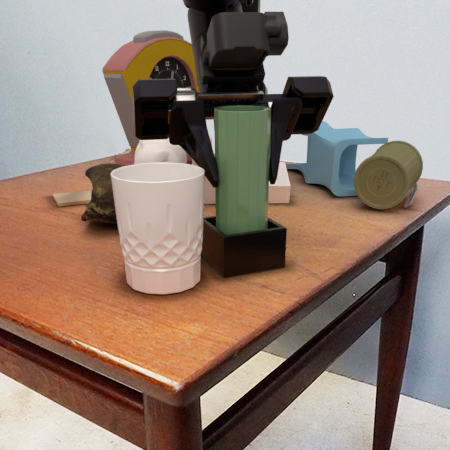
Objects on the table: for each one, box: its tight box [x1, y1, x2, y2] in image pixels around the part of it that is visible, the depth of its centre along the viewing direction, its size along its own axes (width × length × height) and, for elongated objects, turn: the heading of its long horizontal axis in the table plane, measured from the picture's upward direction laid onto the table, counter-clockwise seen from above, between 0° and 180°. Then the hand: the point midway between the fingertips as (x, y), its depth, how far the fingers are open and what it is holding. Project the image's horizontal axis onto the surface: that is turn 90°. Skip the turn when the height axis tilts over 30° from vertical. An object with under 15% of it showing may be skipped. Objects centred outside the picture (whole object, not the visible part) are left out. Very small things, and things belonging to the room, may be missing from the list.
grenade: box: [354, 140, 424, 210], centre depth 74 cm, size 8×7×15 cm
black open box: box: [201, 215, 288, 278], centre depth 53 cm, size 6×6×4 cm
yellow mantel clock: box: [101, 30, 199, 166], centre depth 95 cm, size 22×9×22 cm, turn 141°
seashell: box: [80, 163, 123, 225], centre depth 67 cm, size 16×9×7 cm, turn 3°
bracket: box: [191, 135, 292, 205], centre depth 75 cm, size 13×7×8 cm, turn 91°
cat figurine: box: [134, 138, 188, 164], centre depth 80 cm, size 9×11×12 cm
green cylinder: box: [213, 105, 271, 235], centre depth 51 cm, size 5×5×13 cm
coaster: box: [52, 189, 92, 208], centre depth 76 cm, size 6×6×1 cm
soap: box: [114, 148, 131, 157], centre depth 107 cm, size 10×4×1 cm, turn 171°
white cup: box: [110, 162, 205, 295], centre depth 48 cm, size 8×8×10 cm
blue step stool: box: [285, 120, 389, 197], centre depth 84 cm, size 8×8×20 cm
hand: (245, 183), depth 49 cm, fingers closed on green cylinder, 5 cm apart
